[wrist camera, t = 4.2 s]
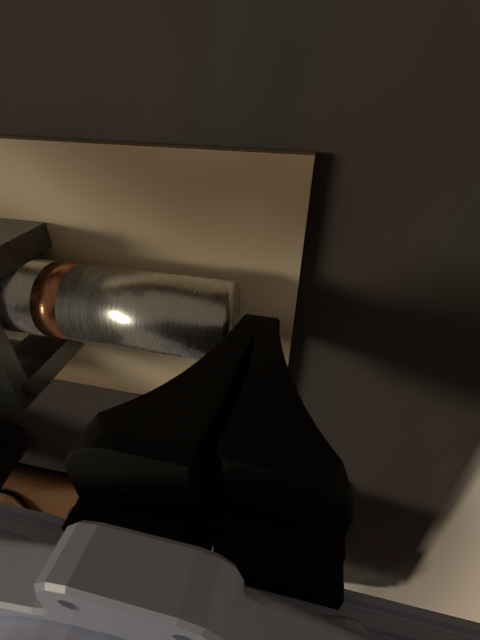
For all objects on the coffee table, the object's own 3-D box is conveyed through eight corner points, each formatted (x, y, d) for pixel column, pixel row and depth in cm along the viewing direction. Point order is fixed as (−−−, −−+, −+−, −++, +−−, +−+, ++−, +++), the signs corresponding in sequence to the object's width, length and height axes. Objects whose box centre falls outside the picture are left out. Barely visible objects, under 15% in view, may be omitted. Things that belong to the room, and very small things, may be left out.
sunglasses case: (120, 480, 26) (89, 589, 23) (153, 480, 32) (132, 565, 29) (-78, 439, 29) (-125, 530, 26) (-12, 446, 35) (-45, 520, 33)
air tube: (235, 350, 14) (217, 375, 11) (-14, 313, 16) (-83, 327, 13) (242, 278, 14) (225, 285, 11) (-18, 248, 16) (-92, 248, 13)
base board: (282, 410, 18) (281, 419, 17) (-76, 347, 21) (-86, 353, 21) (315, 152, 11) (315, 155, 10) (-225, 123, 14) (-245, 124, 14)
